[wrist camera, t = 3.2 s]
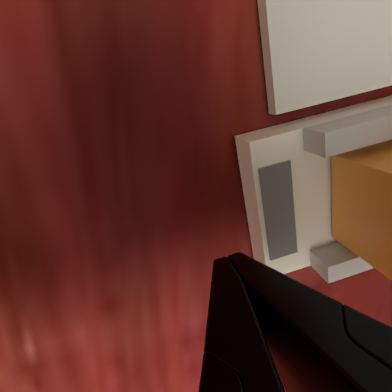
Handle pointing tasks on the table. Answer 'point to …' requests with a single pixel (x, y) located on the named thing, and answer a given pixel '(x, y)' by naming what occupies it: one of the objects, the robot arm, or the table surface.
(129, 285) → the table surface
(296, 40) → the tool mat
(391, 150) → the orange cube
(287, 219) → the switch panel
